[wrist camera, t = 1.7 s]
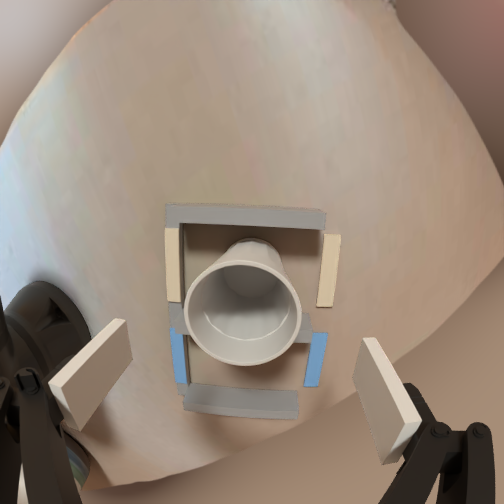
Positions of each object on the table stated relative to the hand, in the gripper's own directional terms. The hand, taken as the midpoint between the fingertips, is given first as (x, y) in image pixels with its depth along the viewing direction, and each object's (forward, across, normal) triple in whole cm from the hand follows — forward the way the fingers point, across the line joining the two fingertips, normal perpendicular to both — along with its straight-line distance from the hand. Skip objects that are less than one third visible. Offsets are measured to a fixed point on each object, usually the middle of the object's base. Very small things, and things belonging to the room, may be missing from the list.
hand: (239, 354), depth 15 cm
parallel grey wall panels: (+16, -1, -6) cm, 17 cm away
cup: (+17, 0, 0) cm, 17 cm away
